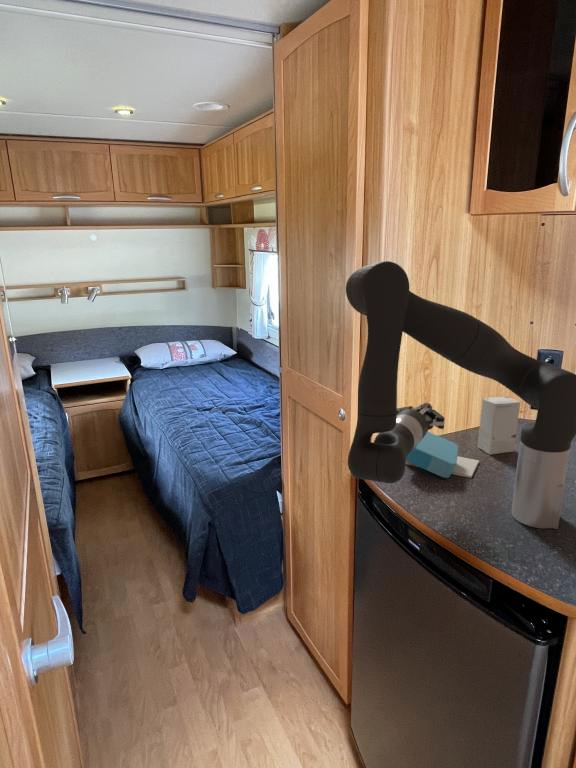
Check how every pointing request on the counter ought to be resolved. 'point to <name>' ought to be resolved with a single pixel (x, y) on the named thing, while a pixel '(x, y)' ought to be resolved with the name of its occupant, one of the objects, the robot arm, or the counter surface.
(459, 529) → the counter surface
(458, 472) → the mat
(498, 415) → the skincare box
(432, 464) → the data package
